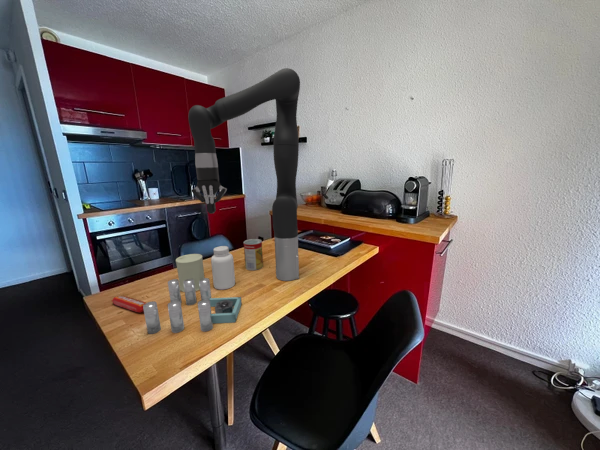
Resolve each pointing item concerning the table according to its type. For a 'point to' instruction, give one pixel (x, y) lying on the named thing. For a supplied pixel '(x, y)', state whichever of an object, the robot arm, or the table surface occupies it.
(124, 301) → the candy bar
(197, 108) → the robot arm
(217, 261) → the pill bottle
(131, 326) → the table surface
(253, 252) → the canned food
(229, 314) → the corral
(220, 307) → the nut
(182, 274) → the can
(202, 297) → the spacers
